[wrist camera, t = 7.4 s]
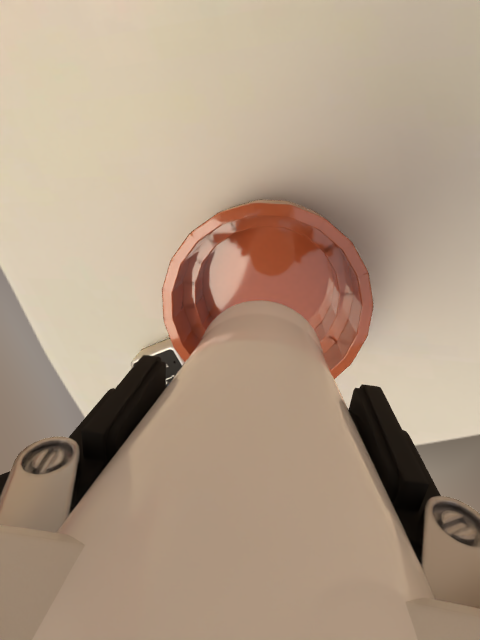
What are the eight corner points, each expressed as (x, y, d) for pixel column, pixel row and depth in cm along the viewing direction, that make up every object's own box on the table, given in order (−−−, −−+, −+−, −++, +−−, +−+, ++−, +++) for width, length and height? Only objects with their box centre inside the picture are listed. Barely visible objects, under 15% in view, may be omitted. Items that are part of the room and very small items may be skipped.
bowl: (153, 261, 28) (121, 280, 22) (297, 160, 24) (303, 152, 18) (243, 385, 31) (235, 428, 25) (382, 313, 27) (409, 346, 22)
